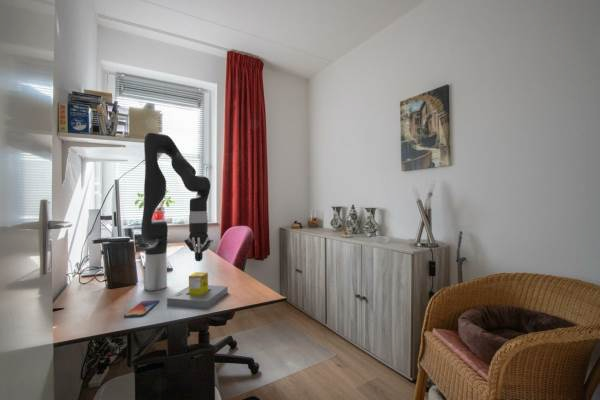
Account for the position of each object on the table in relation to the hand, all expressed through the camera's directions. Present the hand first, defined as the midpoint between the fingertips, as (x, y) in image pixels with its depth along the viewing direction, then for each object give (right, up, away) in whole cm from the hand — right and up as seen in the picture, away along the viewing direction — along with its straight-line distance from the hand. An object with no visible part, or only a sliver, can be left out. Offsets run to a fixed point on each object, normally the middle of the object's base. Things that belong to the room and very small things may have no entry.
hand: (198, 260), depth 117 cm
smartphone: (-19, -18, -10) cm, 27 cm away
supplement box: (0, -17, 0) cm, 17 cm away
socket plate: (0, -17, 0) cm, 17 cm away
